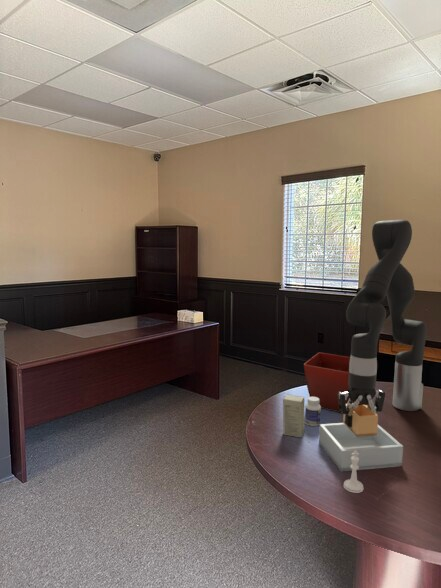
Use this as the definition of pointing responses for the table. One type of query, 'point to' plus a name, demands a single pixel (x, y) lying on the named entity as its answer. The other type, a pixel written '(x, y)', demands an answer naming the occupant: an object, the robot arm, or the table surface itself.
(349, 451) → the big crate
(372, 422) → the small crate
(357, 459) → the chess piece
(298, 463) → the table surface
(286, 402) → the skincare box
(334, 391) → the plant pot
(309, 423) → the pill bottle
